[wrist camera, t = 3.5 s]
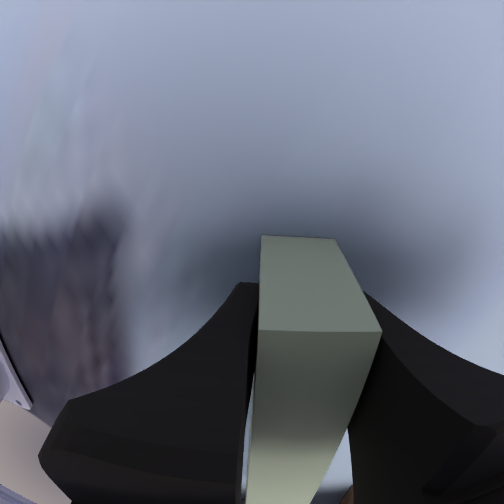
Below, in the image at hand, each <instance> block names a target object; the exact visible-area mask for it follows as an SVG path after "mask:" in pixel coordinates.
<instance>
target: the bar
mask: <svg viewBox="0 0 504 504" xmlns="http://www.w3.org/2000/svg"><path fill="white" fill-rule="evenodd" d="M381 334H382V329H381V327H380V325H379V323H378V321H377V319H376V317H375V315H374V313H373V311H372V309H371V307H370V305H369V303H368V301H367V299H366V297H365V295H364V293H363V291H362V289H361V287H360V285H359V283H358V281H357V280H356V278H355V276H354V274H353V272H352V270H351V268H350V266H349V264H348V263H347V261H346V259H345V257H344V255H343V253H342V251H341V250H340V248H339V246H338V244H337V242H336V241H335V239H326V238H309V237H291V236H272V235H261V252H260V270H259V306H258V323H257V340H256V356H255V371H254V377H253V390H252V406H251V421H250V436H249V452H248V466H247V482H246V499H245V504H310V502H311V501H312V499H313V497H314V495H315V493H316V491H317V489H318V488H319V486H320V484H321V482H322V480H323V478H324V476H325V474H326V472H327V470H328V468H329V466H330V464H331V462H332V460H333V458H334V455H335V453H336V451H337V449H338V447H339V445H340V443H341V440H342V438H343V436H344V434H345V431H346V429H347V427H348V424H349V422H350V420H351V417H352V415H353V412H354V410H355V407H356V405H357V402H358V400H359V397H360V395H361V392H362V390H363V387H364V384H365V382H366V379H367V376H368V373H369V370H370V368H371V365H372V362H373V359H374V356H375V353H376V350H377V347H378V344H379V341H380V338H381Z"/></svg>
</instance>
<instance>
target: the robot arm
mask: <svg viewBox="0 0 504 504" xmlns="http://www.w3.org/2000/svg"><path fill="white" fill-rule="evenodd" d="M362 291H363V290H362ZM363 293H364V295H365V297H366V299H367V301H368V303H369V305H370V307H371V309H372V311H373V313H374V315H375V317H376V319H377V321H378V323H379V325H380V327H381V329H382V334H381V338H380V341H379V344H378V347H377V350H376V353H375V356H374V359H373V362H372V365H371V368H370V370H369V373H368V376H367V379H366V382H365V384H364V387H363V390H362V392H361V395H360V397H359V400H358V402H357V405H356V407H355V410H354V412H353V415H352V417H351V420H350V422H349V424H348V427H347V429H348V435H349V443H350V452H351V463H352V477H353V501H354V504H504V375H502V374H499V373H496V372H493V371H490V370H488V369H485V368H483V367H480V366H478V365H476V364H474V363H471V362H469V361H467V360H465V359H463V358H461V357H459V356H457V355H455V354H453V353H451V352H449V351H447V350H446V349H444V348H442V347H440V346H439V345H437V344H435V343H434V342H432V341H430V340H429V339H427V338H426V337H424V336H423V335H421V334H420V333H418V332H417V331H415V330H414V329H412V328H411V327H410V326H408V325H407V324H405V323H404V322H403V321H401V320H400V319H399V318H397V317H396V316H395V315H394V314H392V313H391V312H390V311H388V310H387V309H386V308H385V307H383V306H382V305H381V304H380V303H378V302H377V301H376V300H375V299H373V298H372V297H371V296H369V295H368V294H367V293H365V292H364V291H363ZM258 306H259V283H244V282H240V283H238V284H237V285H236V286H235V288H234V290H233V291H232V293H231V294H230V296H229V297H228V298H227V300H226V301H225V302H224V304H223V305H222V306H221V307H220V308H219V309H218V311H217V312H216V313H215V314H214V315H213V316H212V318H211V319H210V320H209V321H208V322H207V323H206V324H205V325H204V326H203V327H202V328H201V329H200V330H199V331H198V332H197V333H195V334H194V335H193V336H192V337H191V338H190V339H189V340H187V341H186V342H185V343H184V344H183V345H181V346H180V347H179V348H177V349H176V350H175V351H174V352H172V353H171V354H169V355H168V356H166V357H165V358H163V359H161V360H160V361H158V362H157V363H155V364H153V365H152V366H150V367H149V368H147V369H145V370H143V371H141V372H139V373H137V374H135V375H133V376H131V377H129V378H127V379H125V380H123V381H121V382H119V383H116V384H114V385H111V386H109V387H107V388H104V389H101V390H98V391H95V392H93V393H90V394H87V395H84V396H81V397H78V398H75V399H71V400H69V401H68V402H67V404H66V405H65V407H64V408H63V410H62V411H61V412H60V414H59V415H58V417H57V419H56V421H55V423H54V425H53V427H52V429H51V431H50V433H49V434H48V436H47V438H46V440H45V442H44V444H43V446H42V448H41V450H40V452H39V454H38V458H39V461H40V464H41V467H42V468H43V470H44V471H45V472H46V474H47V475H48V476H49V477H50V478H51V480H52V481H53V482H54V483H55V484H56V485H57V486H58V487H59V488H60V489H61V490H62V491H63V492H64V493H65V494H66V495H67V496H68V497H69V498H70V499H71V500H72V502H71V504H240V498H241V483H242V467H243V451H244V436H245V427H246V419H247V414H248V408H249V402H250V396H251V390H252V384H253V377H254V371H255V356H256V340H257V323H258ZM2 399H3V400H5V401H8V402H10V403H12V404H15V405H17V406H20V407H22V408H25V409H27V410H30V409H31V408H32V403H31V401H30V399H29V397H28V395H27V394H26V392H25V390H24V388H23V386H22V384H21V382H20V380H19V379H18V377H17V375H16V373H15V371H14V369H13V367H12V364H11V362H10V360H9V358H8V356H7V354H6V352H5V349H4V347H3V345H2V342H1V340H0V402H1V401H2ZM0 504H36V503H34V502H32V501H30V500H28V499H26V498H24V497H23V496H21V495H19V494H17V493H15V492H13V491H11V490H10V489H8V488H6V487H4V486H3V485H1V484H0Z"/></svg>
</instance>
